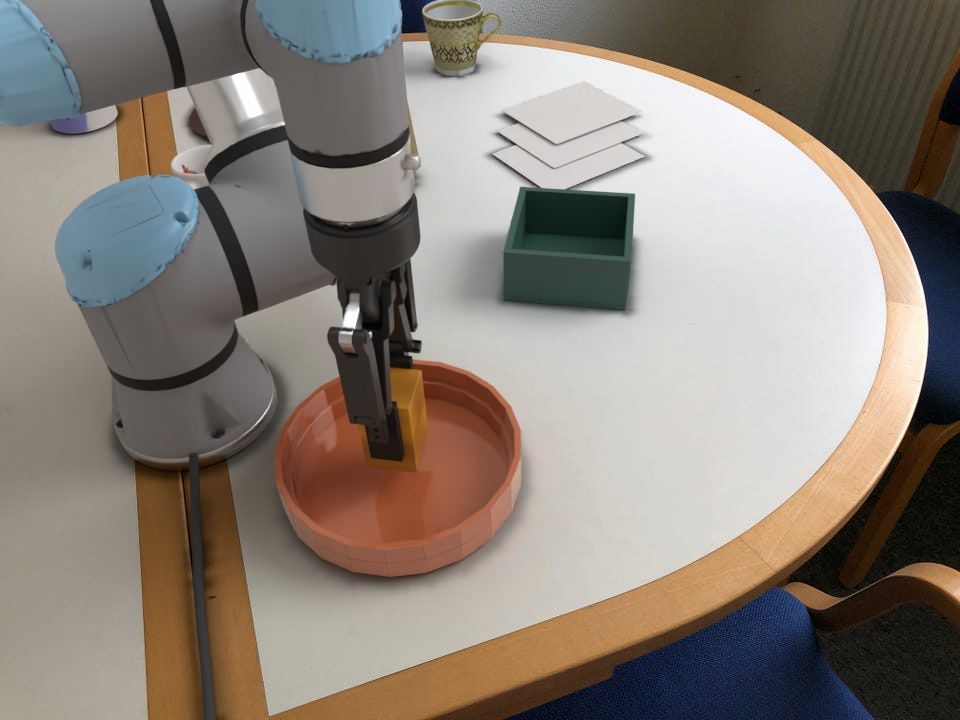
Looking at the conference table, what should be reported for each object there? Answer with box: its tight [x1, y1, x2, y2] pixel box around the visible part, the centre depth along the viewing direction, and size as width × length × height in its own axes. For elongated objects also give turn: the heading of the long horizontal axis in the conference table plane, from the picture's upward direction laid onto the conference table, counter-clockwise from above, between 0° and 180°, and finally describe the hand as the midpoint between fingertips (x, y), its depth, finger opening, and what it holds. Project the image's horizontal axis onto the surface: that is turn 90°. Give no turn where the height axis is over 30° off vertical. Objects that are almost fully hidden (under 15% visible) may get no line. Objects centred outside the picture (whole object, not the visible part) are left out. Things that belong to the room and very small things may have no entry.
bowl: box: [273, 359, 522, 578], centre depth 70 cm, size 21×21×4 cm
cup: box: [169, 144, 211, 190], centre depth 101 cm, size 11×8×8 cm
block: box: [358, 367, 428, 473], centre depth 67 cm, size 4×4×8 cm
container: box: [49, 105, 119, 135], centre depth 120 cm, size 10×10×20 cm
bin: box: [502, 186, 636, 311], centre depth 91 cm, size 14×14×7 cm
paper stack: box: [492, 80, 645, 190], centre depth 117 cm, size 23×25×1 cm
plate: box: [188, 107, 208, 138], centre depth 126 cm, size 28×28×4 cm
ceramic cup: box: [421, 0, 502, 77], centre depth 133 cm, size 13×10×10 cm
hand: (395, 432), depth 68 cm, fingers closed on block, 4 cm apart
